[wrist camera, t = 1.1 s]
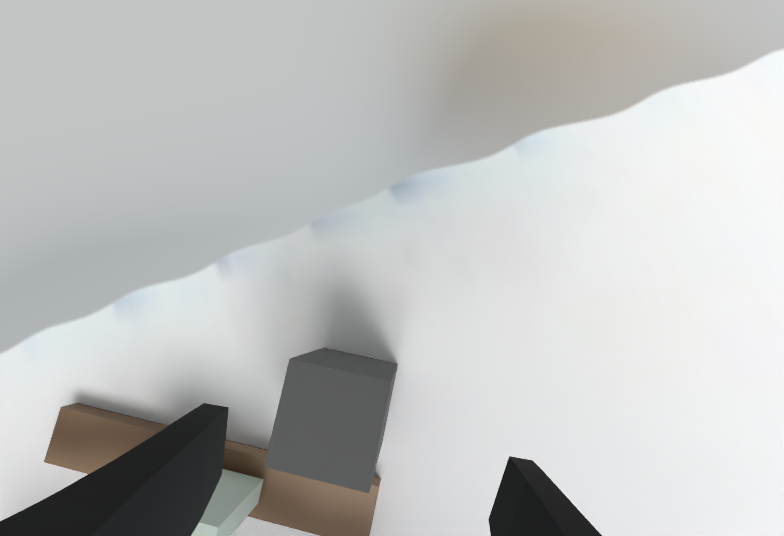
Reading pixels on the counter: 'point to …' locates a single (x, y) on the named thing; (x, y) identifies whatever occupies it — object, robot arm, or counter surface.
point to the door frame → (279, 489)
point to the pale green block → (229, 504)
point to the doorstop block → (332, 418)
